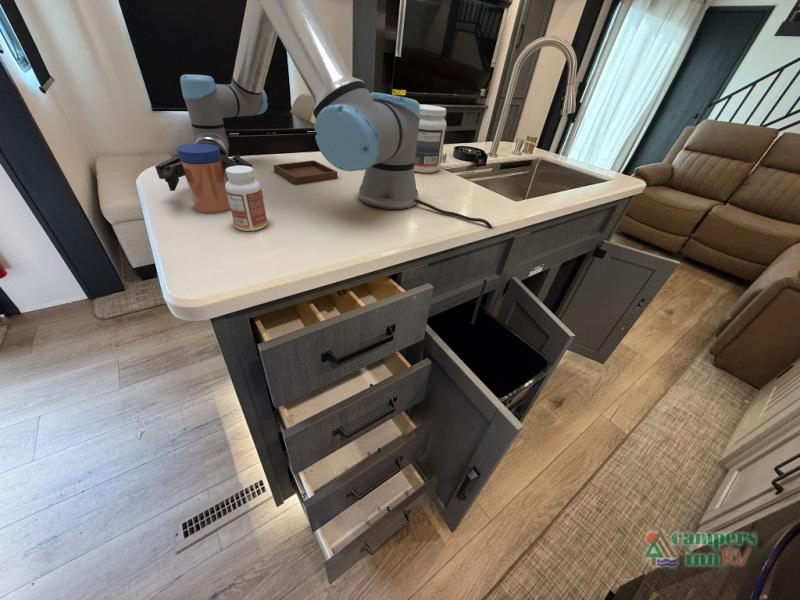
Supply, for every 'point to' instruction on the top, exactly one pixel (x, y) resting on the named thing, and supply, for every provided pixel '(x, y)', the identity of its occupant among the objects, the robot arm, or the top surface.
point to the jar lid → (198, 153)
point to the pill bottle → (245, 198)
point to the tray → (305, 172)
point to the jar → (207, 186)
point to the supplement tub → (430, 139)
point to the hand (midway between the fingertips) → (204, 182)
